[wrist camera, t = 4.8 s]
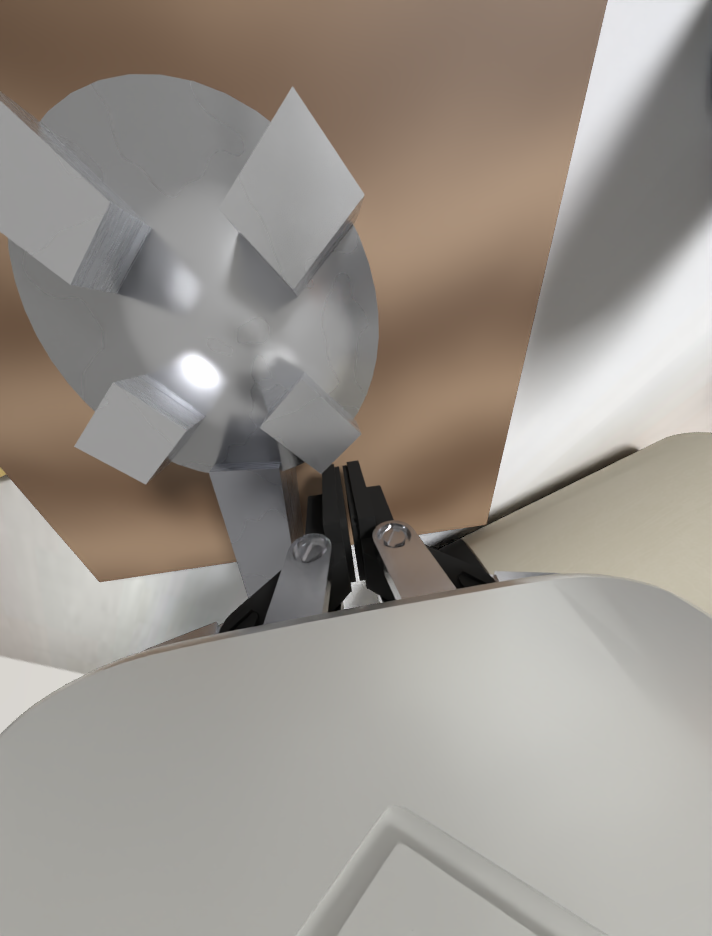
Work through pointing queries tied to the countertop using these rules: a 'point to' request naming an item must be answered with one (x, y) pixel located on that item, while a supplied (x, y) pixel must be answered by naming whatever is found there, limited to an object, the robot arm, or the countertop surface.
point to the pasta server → (196, 288)
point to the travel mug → (616, 524)
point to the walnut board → (378, 225)
